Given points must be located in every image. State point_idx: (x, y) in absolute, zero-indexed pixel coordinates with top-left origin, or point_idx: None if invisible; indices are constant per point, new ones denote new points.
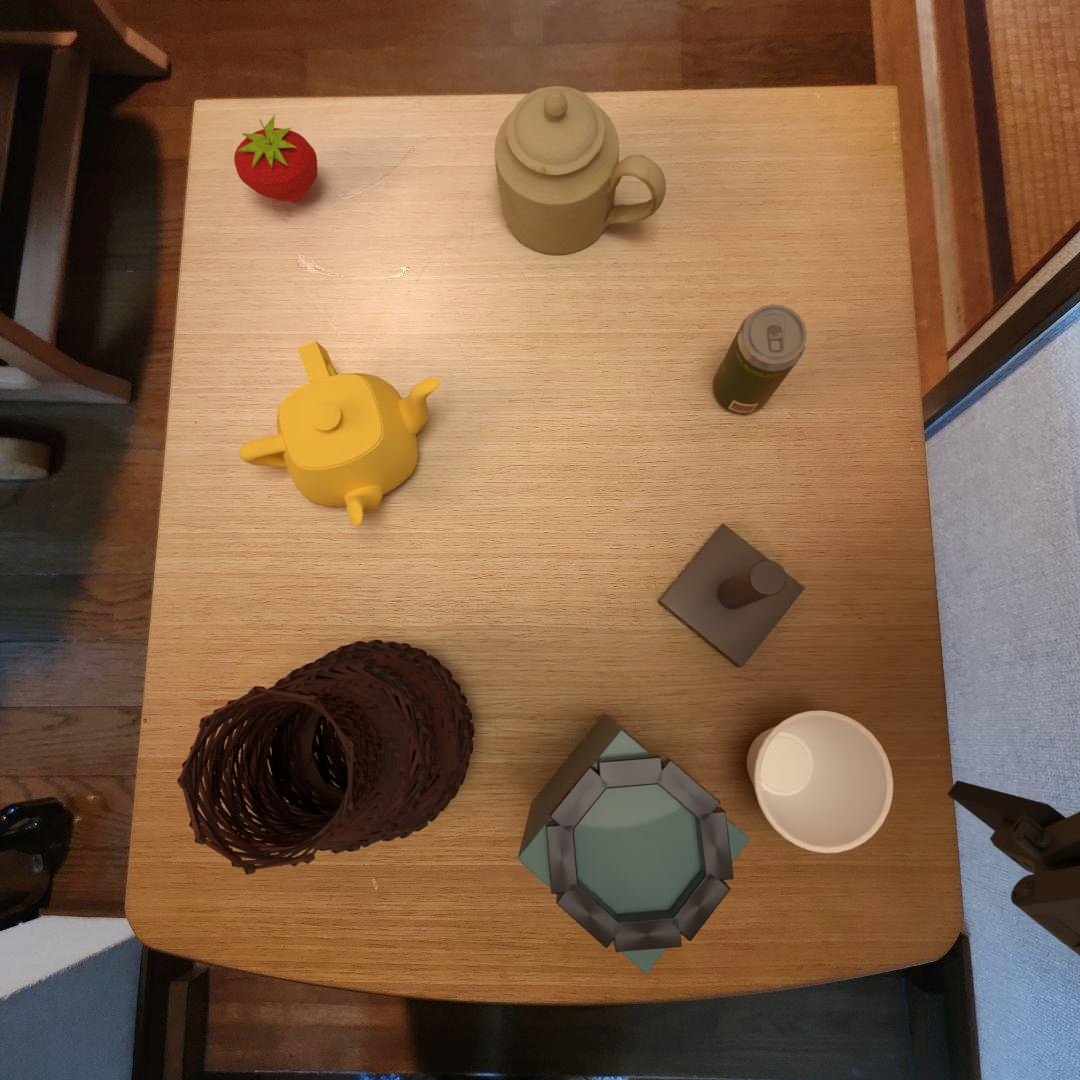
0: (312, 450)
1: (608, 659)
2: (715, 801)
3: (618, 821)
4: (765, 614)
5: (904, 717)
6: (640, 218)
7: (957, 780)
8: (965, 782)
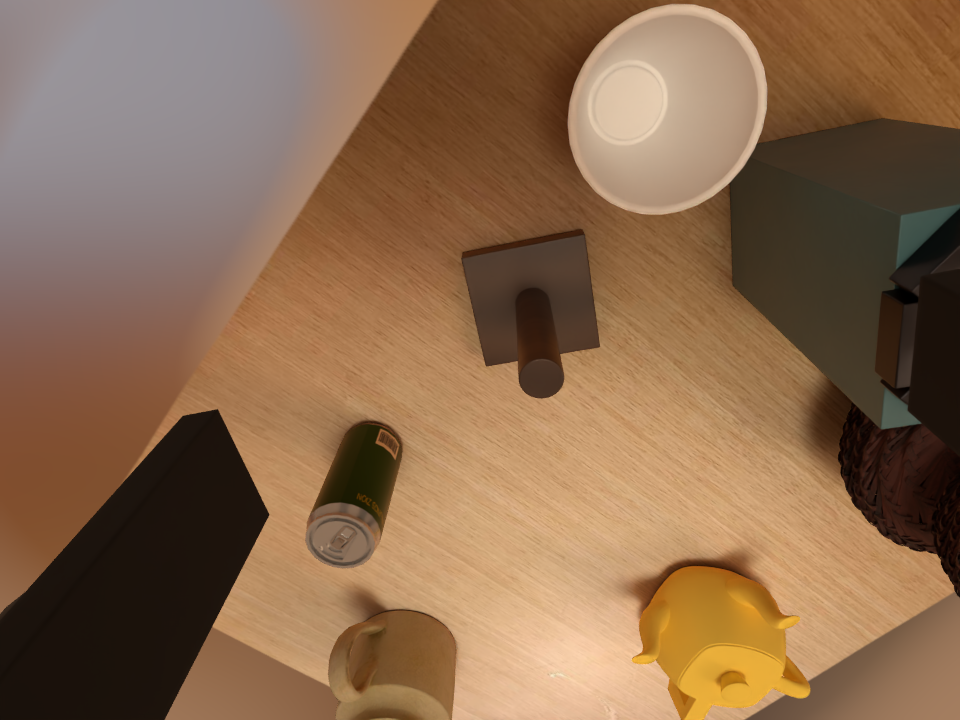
0: (764, 669)
1: (683, 326)
2: (908, 311)
3: None
4: (519, 263)
5: (464, 43)
6: (362, 630)
7: (908, 411)
8: (932, 432)
